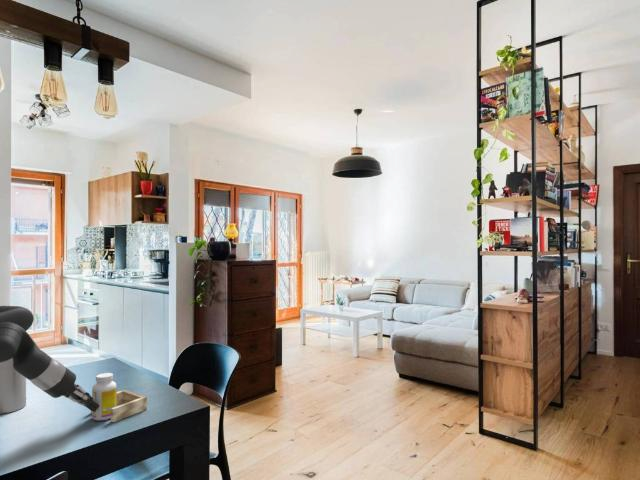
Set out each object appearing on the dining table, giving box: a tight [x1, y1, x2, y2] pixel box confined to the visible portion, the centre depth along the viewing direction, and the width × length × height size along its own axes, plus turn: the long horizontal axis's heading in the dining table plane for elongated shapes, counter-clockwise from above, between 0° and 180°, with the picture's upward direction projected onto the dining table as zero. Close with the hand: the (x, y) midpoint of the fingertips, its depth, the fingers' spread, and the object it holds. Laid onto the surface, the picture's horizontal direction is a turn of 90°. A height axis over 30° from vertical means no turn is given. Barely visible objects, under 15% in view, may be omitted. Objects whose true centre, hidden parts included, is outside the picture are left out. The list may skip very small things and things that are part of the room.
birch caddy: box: [90, 389, 148, 423], centre depth 129 cm, size 11×12×4 cm
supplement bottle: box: [91, 372, 117, 421], centre depth 125 cm, size 7×7×13 cm
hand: (96, 408), depth 121 cm, fingers closed
